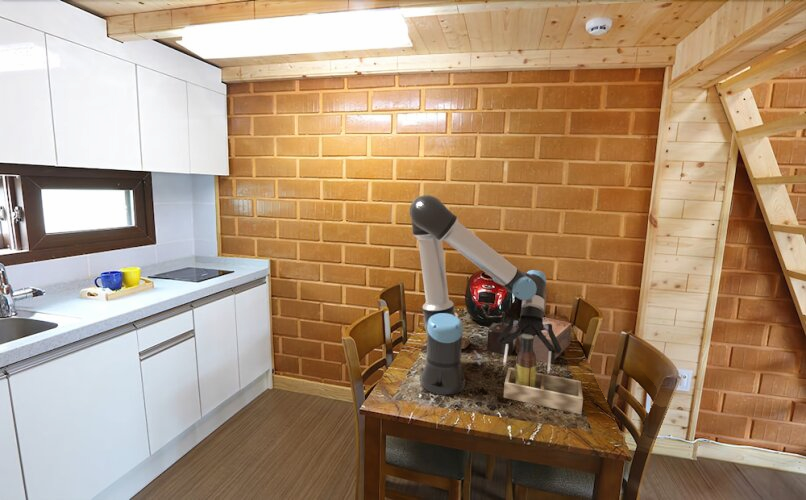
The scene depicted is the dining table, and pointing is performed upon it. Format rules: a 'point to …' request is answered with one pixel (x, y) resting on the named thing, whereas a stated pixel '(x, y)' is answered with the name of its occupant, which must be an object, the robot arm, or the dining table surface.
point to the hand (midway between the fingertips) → (526, 368)
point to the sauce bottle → (526, 362)
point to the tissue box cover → (549, 339)
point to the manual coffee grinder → (497, 333)
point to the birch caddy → (546, 392)
